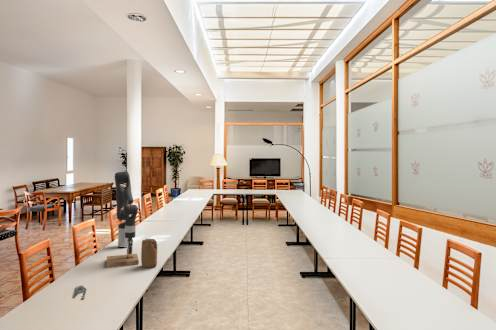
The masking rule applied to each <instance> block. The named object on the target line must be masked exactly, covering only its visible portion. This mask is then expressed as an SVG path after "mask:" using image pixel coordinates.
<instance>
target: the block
mask: <svg viewBox="0 0 496 330" xmlns="http://www.w3.org/2000/svg"><path fill="white" fill-rule="evenodd" d="M157 243H158V242H157V241H156V240H155V238H145V239H142V241H141V252H140V255H141V256H140V259H141V260H140V261H141V262H140V263H141V266H142V268H144V269H145V268H146V269H150V268H152V269H153V268H155V267H156V266H157V265H158V244H157Z"/></svg>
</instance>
